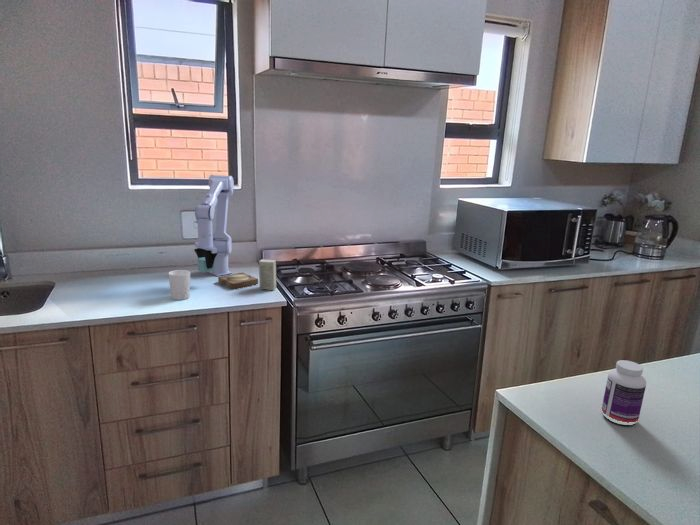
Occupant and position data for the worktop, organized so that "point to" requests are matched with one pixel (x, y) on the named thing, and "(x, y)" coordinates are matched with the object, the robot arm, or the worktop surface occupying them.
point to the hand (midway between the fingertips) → (206, 266)
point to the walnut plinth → (237, 280)
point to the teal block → (204, 265)
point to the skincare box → (267, 274)
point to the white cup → (179, 284)
